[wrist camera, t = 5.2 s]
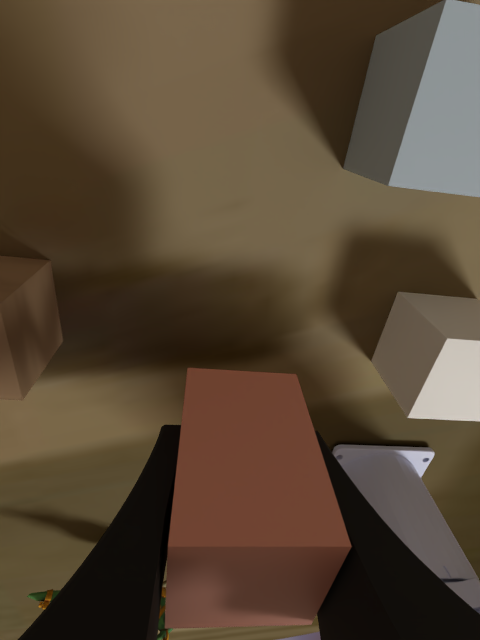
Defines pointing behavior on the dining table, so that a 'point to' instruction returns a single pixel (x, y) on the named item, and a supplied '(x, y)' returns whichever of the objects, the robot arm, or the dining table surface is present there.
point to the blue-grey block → (422, 104)
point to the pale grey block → (432, 356)
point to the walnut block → (26, 323)
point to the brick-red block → (250, 506)
